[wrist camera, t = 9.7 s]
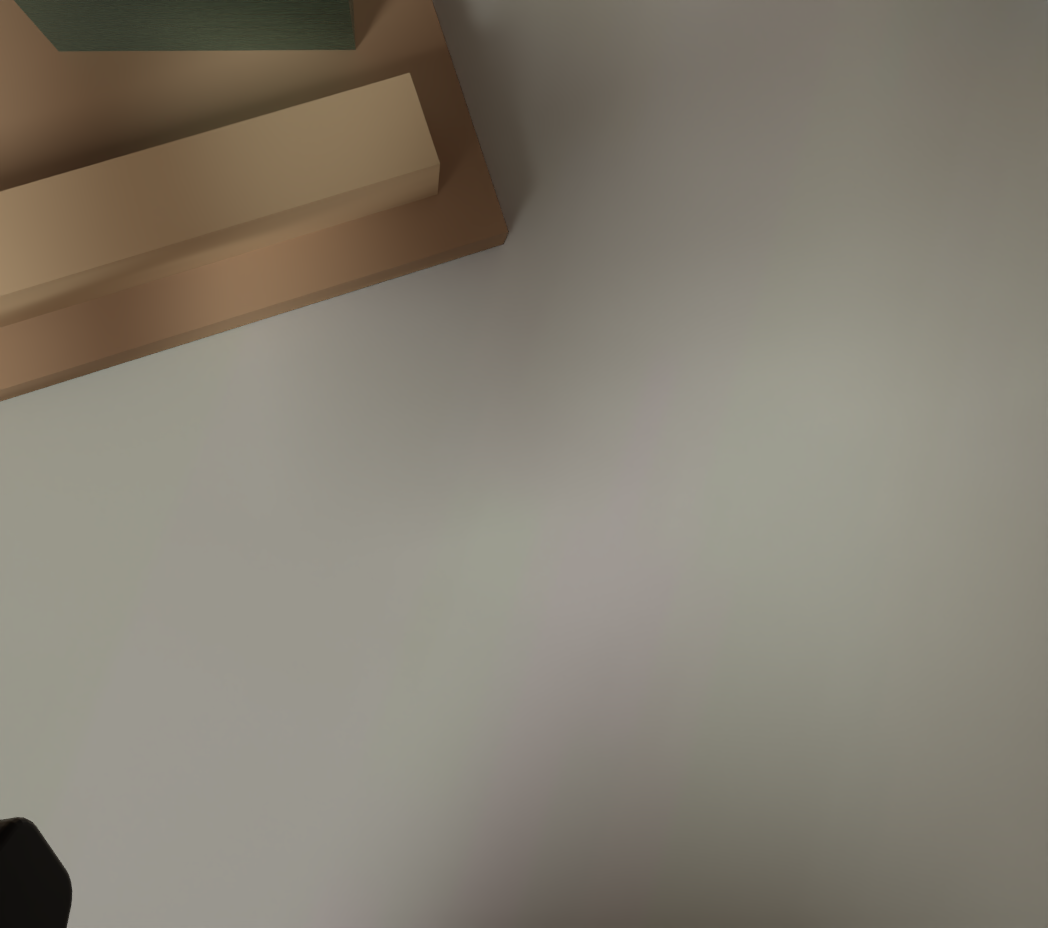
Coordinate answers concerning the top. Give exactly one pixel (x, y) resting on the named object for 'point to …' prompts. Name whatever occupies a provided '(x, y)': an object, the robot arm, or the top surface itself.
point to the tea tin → (194, 24)
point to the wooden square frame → (221, 186)
